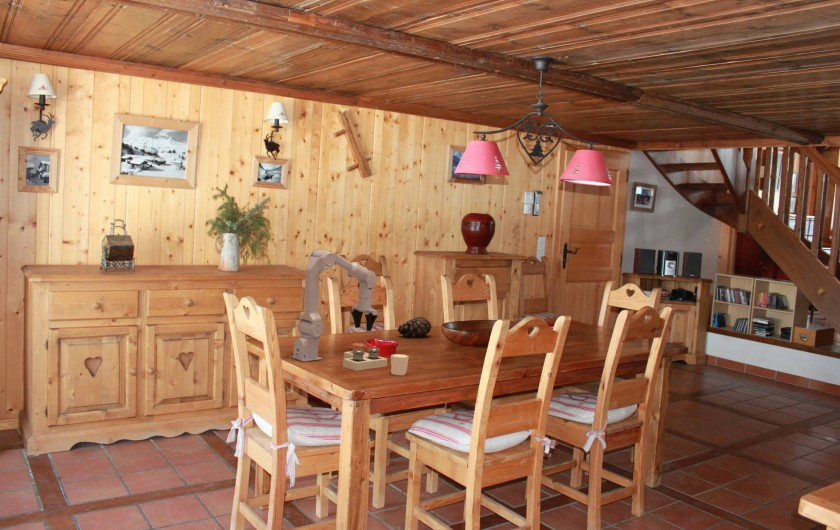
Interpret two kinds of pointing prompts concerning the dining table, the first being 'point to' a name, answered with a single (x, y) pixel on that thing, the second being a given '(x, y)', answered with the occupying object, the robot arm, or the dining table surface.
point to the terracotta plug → (358, 346)
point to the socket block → (363, 362)
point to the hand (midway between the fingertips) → (363, 329)
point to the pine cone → (415, 328)
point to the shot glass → (399, 364)
